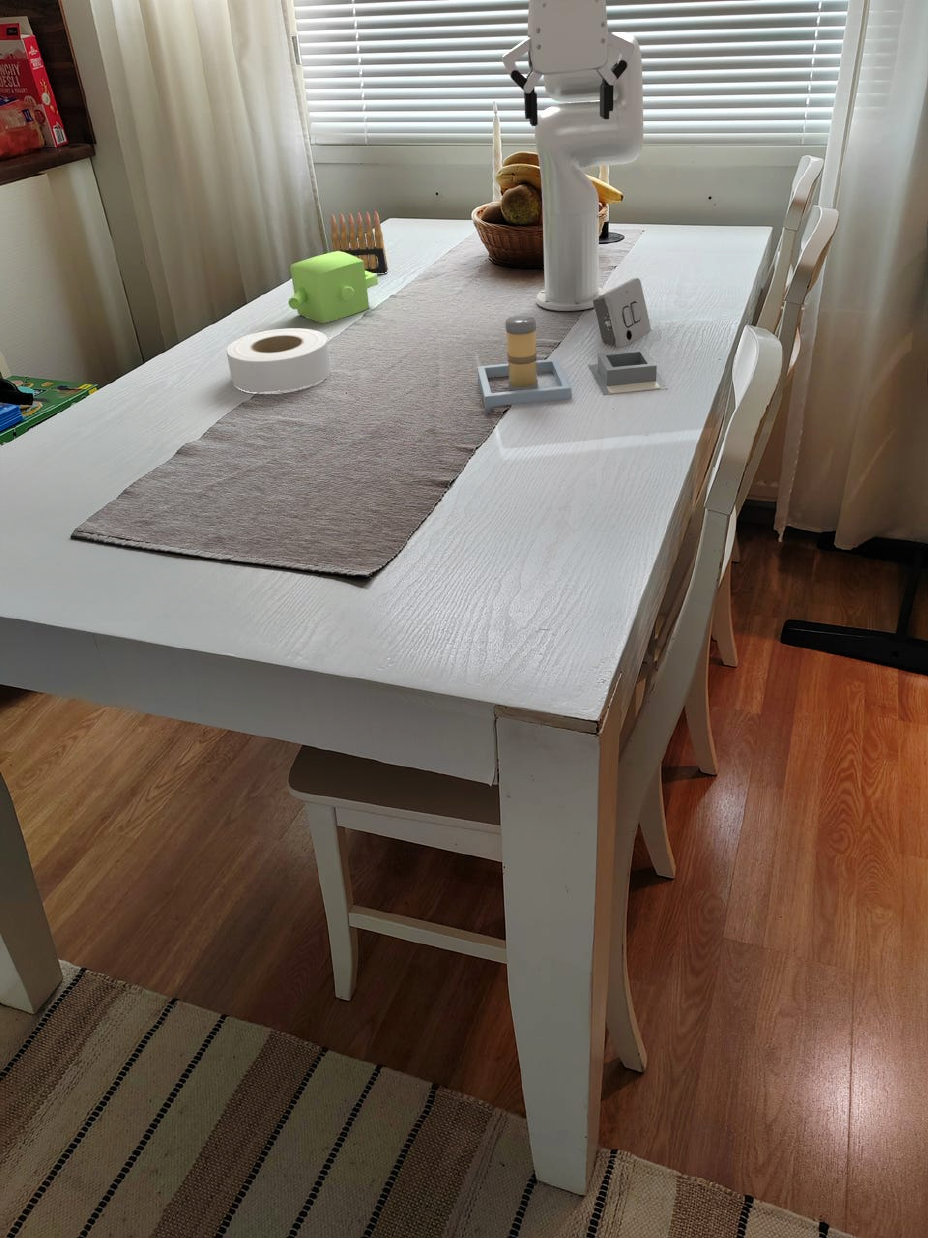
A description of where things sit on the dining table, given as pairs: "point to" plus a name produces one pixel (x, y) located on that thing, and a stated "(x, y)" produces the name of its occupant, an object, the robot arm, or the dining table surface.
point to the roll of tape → (279, 359)
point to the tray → (522, 395)
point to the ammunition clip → (361, 241)
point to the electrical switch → (622, 314)
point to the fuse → (522, 353)
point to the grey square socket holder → (626, 372)
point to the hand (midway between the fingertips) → (569, 121)
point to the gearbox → (330, 286)
